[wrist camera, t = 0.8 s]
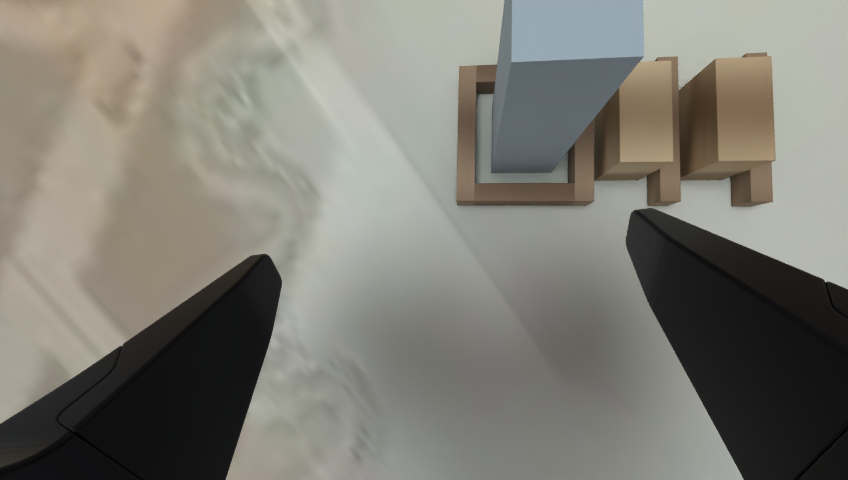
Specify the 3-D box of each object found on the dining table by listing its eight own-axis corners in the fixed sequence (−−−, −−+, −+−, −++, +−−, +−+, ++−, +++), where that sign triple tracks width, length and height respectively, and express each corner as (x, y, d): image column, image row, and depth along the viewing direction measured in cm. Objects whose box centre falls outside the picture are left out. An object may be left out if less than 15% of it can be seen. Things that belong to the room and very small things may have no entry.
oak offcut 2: (719, 180, 21) (775, 160, 17) (674, 180, 22) (718, 160, 18) (717, 94, 22) (771, 56, 18) (672, 96, 22) (715, 58, 18)
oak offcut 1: (637, 180, 22) (673, 161, 18) (593, 180, 22) (619, 162, 18) (636, 97, 22) (671, 60, 18) (593, 98, 23) (619, 62, 19)
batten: (550, 172, 23) (643, 56, 10) (491, 172, 23) (511, 61, 11) (550, 107, 23) (641, -83, 10) (492, 109, 23) (512, -71, 11)
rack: (751, 206, 21) (772, 201, 19) (457, 204, 23) (456, 200, 22) (746, 67, 21) (767, 52, 20) (460, 78, 24) (459, 66, 22)
